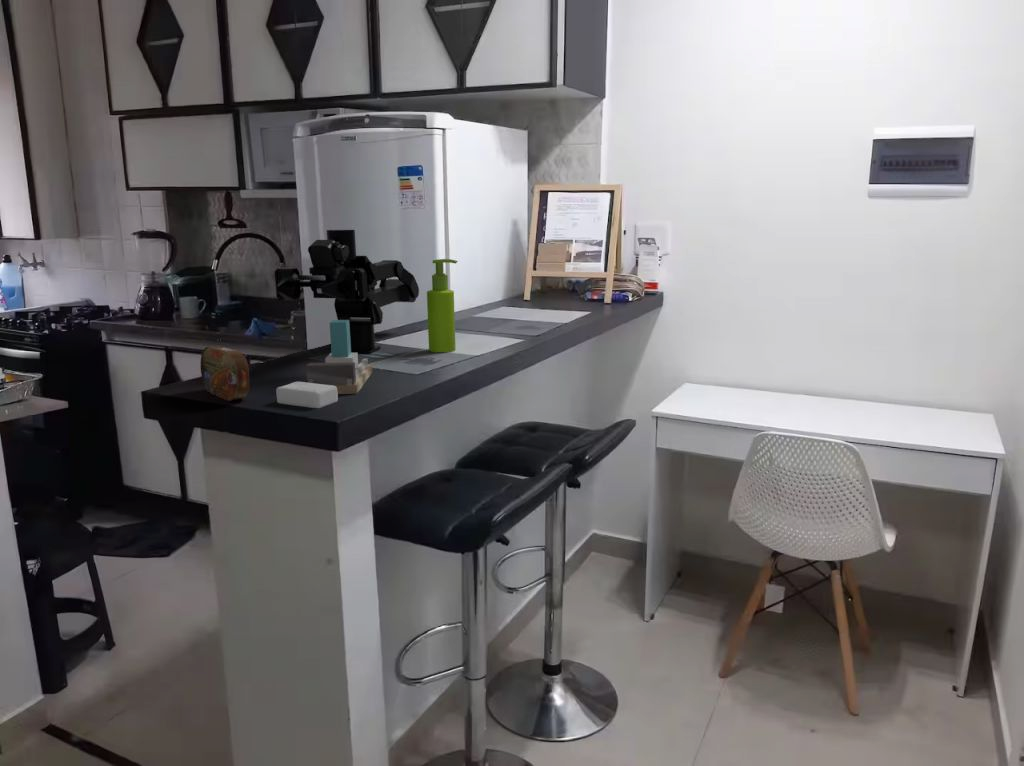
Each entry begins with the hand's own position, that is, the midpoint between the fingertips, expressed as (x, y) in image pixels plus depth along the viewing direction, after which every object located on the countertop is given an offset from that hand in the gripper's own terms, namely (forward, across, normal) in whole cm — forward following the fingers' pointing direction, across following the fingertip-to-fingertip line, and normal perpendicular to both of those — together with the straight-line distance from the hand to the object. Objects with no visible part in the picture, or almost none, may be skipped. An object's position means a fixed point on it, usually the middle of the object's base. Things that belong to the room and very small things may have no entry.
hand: (299, 289), depth 142 cm
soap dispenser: (-29, +18, +17) cm, 38 cm away
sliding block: (+2, +8, +15) cm, 17 cm away
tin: (+17, -6, +17) cm, 24 cm away
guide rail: (+4, +9, +16) cm, 19 cm away
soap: (+18, +10, +17) cm, 27 cm away
